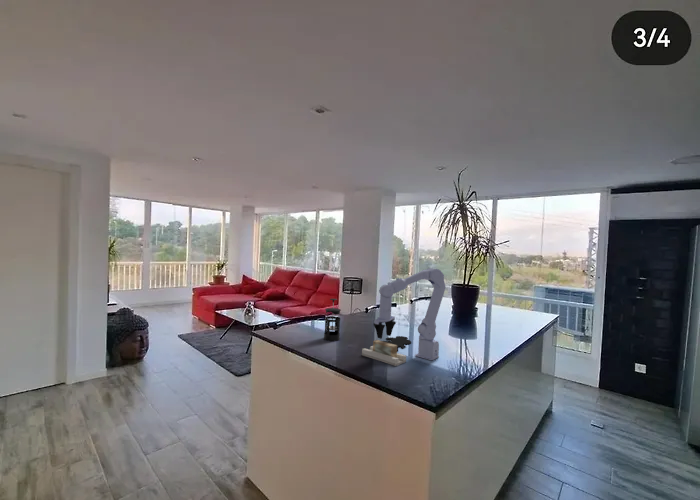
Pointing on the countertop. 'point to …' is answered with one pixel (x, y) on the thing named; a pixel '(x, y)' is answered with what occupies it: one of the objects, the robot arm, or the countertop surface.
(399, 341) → the figurine
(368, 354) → the ledge
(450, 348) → the countertop surface
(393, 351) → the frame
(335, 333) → the french press
